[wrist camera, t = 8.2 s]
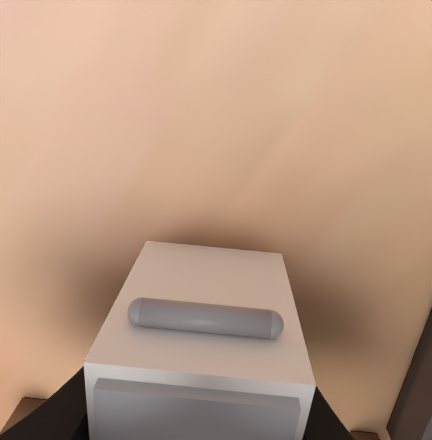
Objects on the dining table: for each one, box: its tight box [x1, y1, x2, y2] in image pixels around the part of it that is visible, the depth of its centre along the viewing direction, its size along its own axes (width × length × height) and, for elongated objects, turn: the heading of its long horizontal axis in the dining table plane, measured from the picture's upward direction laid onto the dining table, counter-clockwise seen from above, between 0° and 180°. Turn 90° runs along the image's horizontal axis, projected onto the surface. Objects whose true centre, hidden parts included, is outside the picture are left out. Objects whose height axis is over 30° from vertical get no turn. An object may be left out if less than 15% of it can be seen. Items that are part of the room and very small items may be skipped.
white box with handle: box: [83, 241, 316, 440], centre depth 12 cm, size 5×9×6 cm, turn 175°
